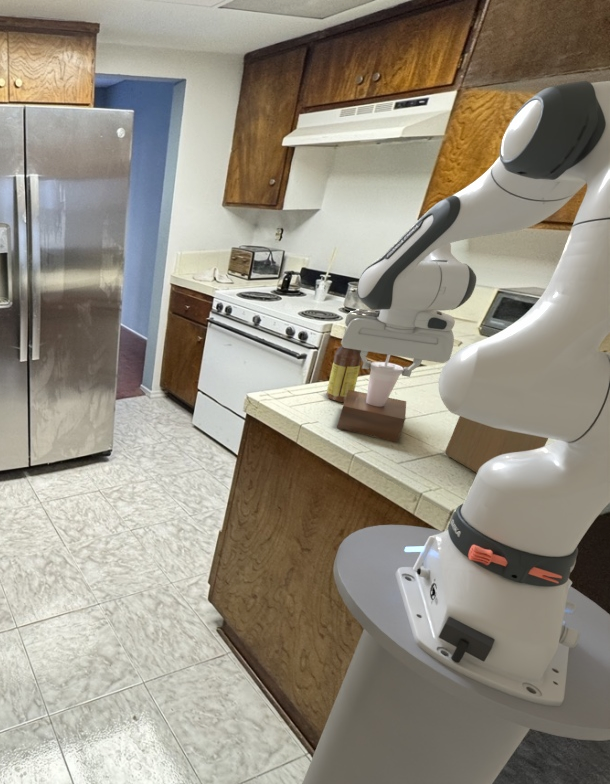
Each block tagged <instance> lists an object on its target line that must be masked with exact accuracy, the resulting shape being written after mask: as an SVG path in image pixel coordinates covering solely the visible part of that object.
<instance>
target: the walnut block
mask: <svg viewBox="0 0 610 784" xmlns="http://www.w3.org/2000/svg"><path fill="white" fill-rule="evenodd" d="M366 398H367V392H362V391H357V390H354V391H352V390H348V393H347V396H346V399H345V402H343V405H342V408H341V411H340V415H339V419H338V422H337V424H336V428H337V429H341V430H345V431H348V432H353V433H357V434H360V435H365V436H369V437H373V438H378V439H382V440H386V441H389V442H395V443H398V440H399V438H400V435H401V433H402V430H403V427H404V424H405V421H406V414H407V401H406V400H402V399H397V398H392V397H389V398H388V399H387V401H386V403H385V405H384V406H383V407H378V406H373V405H370V404H368V403H366Z"/></svg>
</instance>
